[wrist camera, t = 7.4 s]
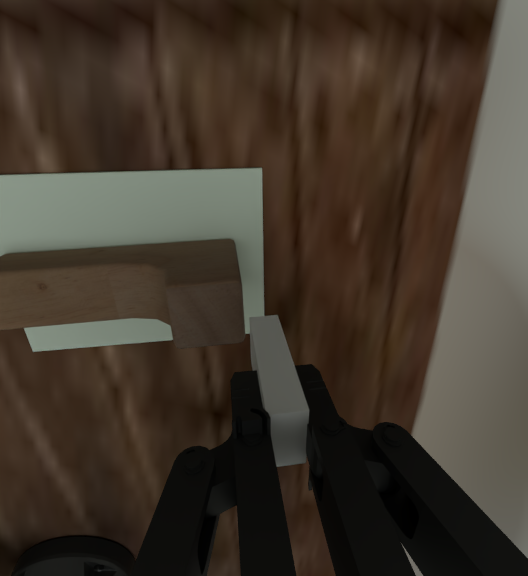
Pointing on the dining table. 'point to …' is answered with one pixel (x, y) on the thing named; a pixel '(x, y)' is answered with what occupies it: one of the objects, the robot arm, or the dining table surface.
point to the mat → (133, 231)
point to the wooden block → (129, 288)
